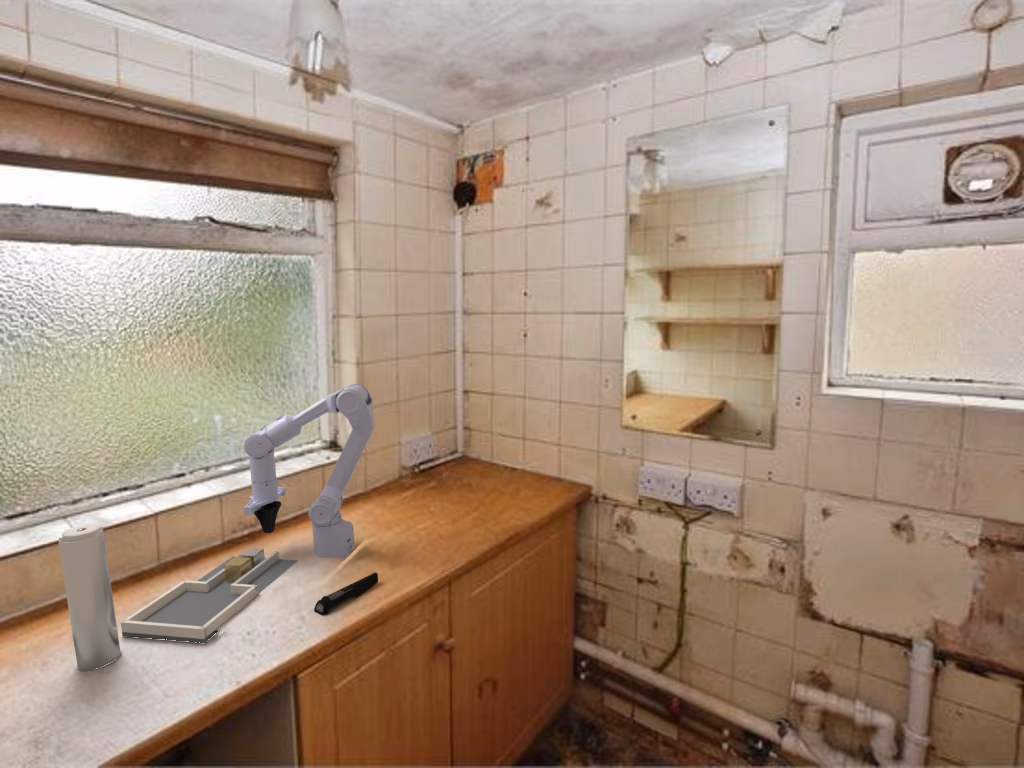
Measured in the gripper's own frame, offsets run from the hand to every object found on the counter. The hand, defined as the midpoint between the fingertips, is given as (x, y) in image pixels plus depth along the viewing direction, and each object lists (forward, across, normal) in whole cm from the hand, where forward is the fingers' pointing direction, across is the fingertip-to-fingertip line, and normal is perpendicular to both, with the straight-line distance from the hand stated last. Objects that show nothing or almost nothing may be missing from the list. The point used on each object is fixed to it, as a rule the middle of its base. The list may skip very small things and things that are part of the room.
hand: (268, 531), depth 143 cm
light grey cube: (+6, +8, 0) cm, 9 cm away
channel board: (+7, +19, 0) cm, 20 cm away
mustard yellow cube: (+6, +12, 0) cm, 14 cm away
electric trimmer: (+7, +16, +28) cm, 34 cm away
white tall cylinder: (+7, +42, -7) cm, 44 cm away
